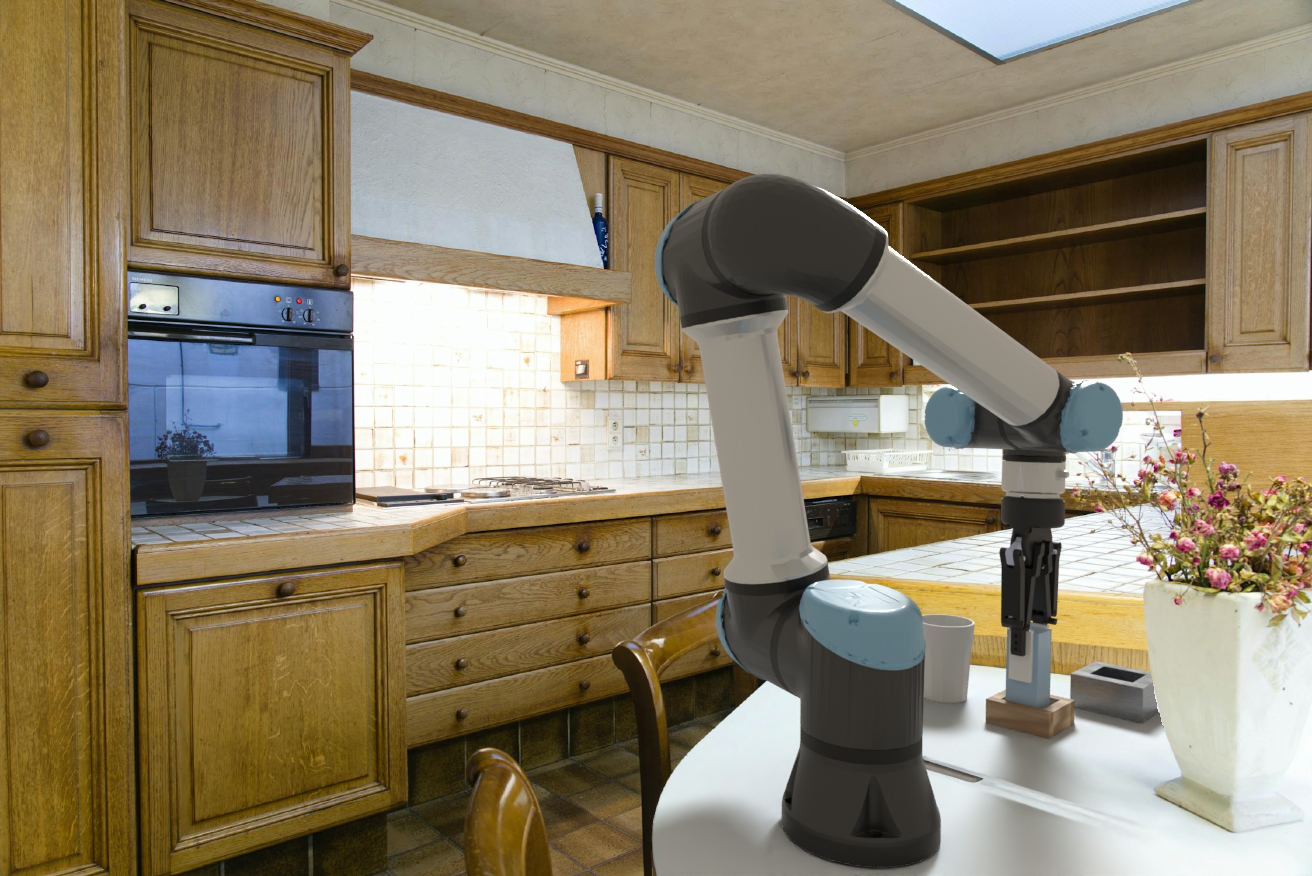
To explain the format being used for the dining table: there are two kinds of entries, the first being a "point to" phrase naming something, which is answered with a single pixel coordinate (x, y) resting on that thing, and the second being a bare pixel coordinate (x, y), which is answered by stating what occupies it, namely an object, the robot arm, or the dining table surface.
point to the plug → (1033, 673)
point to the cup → (947, 657)
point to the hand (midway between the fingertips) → (1028, 676)
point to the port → (1114, 691)
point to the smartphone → (951, 772)
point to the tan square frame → (1031, 715)
